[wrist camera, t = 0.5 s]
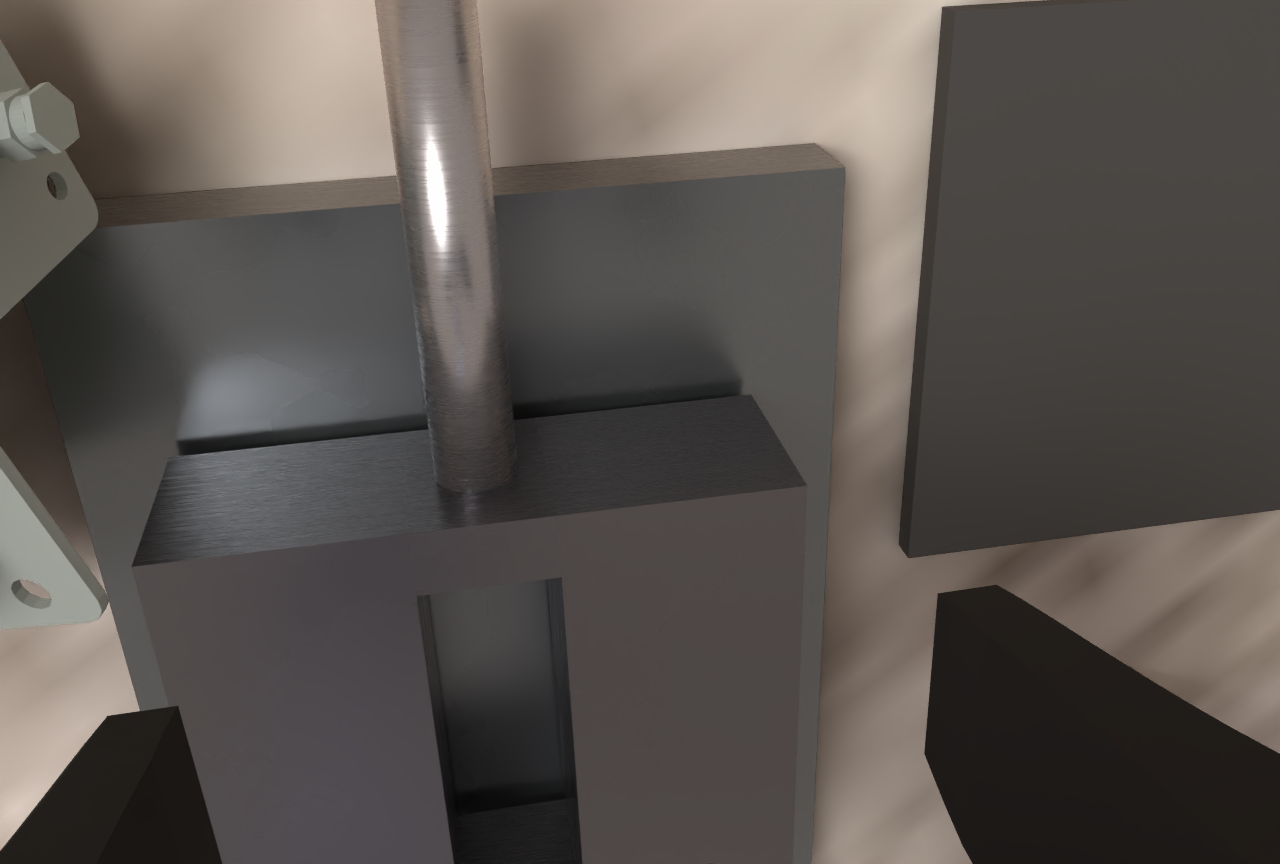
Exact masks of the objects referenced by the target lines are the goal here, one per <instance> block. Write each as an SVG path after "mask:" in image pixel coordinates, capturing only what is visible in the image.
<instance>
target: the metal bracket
mask: <svg viewBox="0 0 1280 864" xmlns="http://www.w3.org/2000/svg"><path fill="white" fill-rule="evenodd" d="M79 138H80V135H79V130H78V125H77V120H76V115H75V109H74V104H73V102H72V101H70V100H69V99H68V98H67V97H66V96H65V95H63V94H62V93H61V92H60V91H59V90H58V89H56V88H55V87H54V86H53V85H52V84H50V83H49V82H44V83H40V84H39V85H37V86H36V87H35V88H33V89H32V90H30V89H29V87H28V85H27V84H26V82H25V80H24V79H23V77H22V75H21V73H20V72H19V70H18V68H17V66H16V65H15V63H14V61H13V60H12V58H11V56H10V54H9V53H8V51H7V49H6V48H5V46H4V44H3V42H2V41H1V39H0V319H1V318H2V317H3V316H4V315H5V314H6V313H8V312H9V311H10V310H11V309H12V308H13V307H14V306H15V305H16V304H17V303H18V302H19V301H20V300H21V299H22V298H23V297H24V296H25V295H26V294H27V293H28V292H29V291H30V290H31V289H32V288H34V287H35V286H36V285H37V284H38V283H39V282H40V281H41V280H42V279H43V278H44V277H45V276H46V275H47V274H48V273H49V272H50V271H51V270H52V269H53V268H54V267H55V266H56V265H57V264H58V263H60V262H61V261H62V260H63V259H64V258H65V257H66V256H67V255H68V254H69V253H70V252H71V251H72V250H73V249H74V248H75V247H76V246H77V245H78V244H79V243H80V242H81V241H82V240H83V239H84V238H86V237H87V236H88V235H89V234H90V233H91V232H92V231H93V230H94V229H95V227H96V226H97V222H98V210H97V206H96V204H95V201H94V199H93V198H92V196H91V194H90V192H89V191H88V189H87V187H86V185H85V184H84V182H83V180H82V179H81V177H80V175H79V173H78V172H77V170H76V168H75V166H74V165H73V163H72V161H71V160H70V158H69V156H68V154H67V153H66V151H65V149H67V148H68V147H69V146H70V145H71V144H73V143H74V142H75V141H76V140H77V139H79ZM47 176H49V177H50V178H51V179H52V180H53V182H54V184H55V186H56V190H57V193H56V198H54V197H53V196H52V195H51V193H50V192H49V190H48V187H47ZM20 580H29V581H32V582H34V583H36V584H38V585H40V586H41V587H43V588H44V589H45V590H46V591H47V592H48V593H49V595H50V597H51V599H45V598H39V597H37V596H35V595H33V594H31V593H29V592H28V591H27V590H26V589H25V588H24V587H23V586H22V585H21V583H20ZM108 602H109V600H108V597H107V595H106V592H105V590H104V589H103V587H102V586H101V585H100V583H99V582H98V580H97V579H96V578H95V576H94V575H93V573H92V572H91V571H90V569H89V568H88V567H87V565H86V564H85V562H84V561H83V560H82V558H81V557H80V556H79V554H78V553H77V551H76V550H75V549H74V547H73V546H72V544H71V543H70V542H69V540H68V539H67V538H66V536H65V535H64V533H63V532H62V531H61V529H60V528H59V527H58V525H57V524H56V522H55V521H54V520H53V518H52V517H51V515H50V514H49V513H48V511H47V510H46V509H45V507H44V506H43V504H42V503H41V502H40V500H39V499H38V497H37V496H36V495H35V493H34V492H33V491H32V489H31V488H30V486H29V485H28V484H27V482H26V481H25V480H24V478H23V477H22V475H21V474H20V473H19V471H18V470H17V468H16V467H15V466H14V464H13V463H12V462H11V460H10V459H9V457H8V456H7V455H6V453H5V452H4V451H3V449H2V448H1V446H0V630H1V629H13V628H26V627H38V626H51V625H63V624H75V623H88V622H92V621H94V620H97V619H99V618H100V616H101V615H102V613H103V612H104V611H105V609H106V607H107V605H108Z"/></svg>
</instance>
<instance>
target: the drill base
mask: <svg viewBox="0 0 1280 864" xmlns="http://www.w3.org/2000/svg"><path fill="white" fill-rule="evenodd" d="M491 170H492V181H493V193H494V204H495V215H496V227H497V238H498V249H499V261H500V272H501V283H502V295H503V306H504V317H505V329H506V340H507V351H508V363H509V374H510V385H511V396H512V408H513V419H514V420H519V419H529V418H538V417H547V416H556V415H566V414H575V413H584V412H593V411H603V410H612V409H621V408H630V407H640V406H649V405H658V404H667V403H677V402H686V401H695V400H705V399H714V398H723V397H732V396H742V395H752V396H753V398H754V399H755V401H756V403H757V404H758V406H759V408H760V409H761V411H762V412H763V414H764V416H765V417H766V419H767V421H768V422H769V424H770V426H771V427H772V429H773V430H774V432H775V434H776V435H777V437H778V439H779V440H780V442H781V444H782V445H783V447H784V448H785V450H786V452H787V453H788V455H789V457H790V458H791V460H792V461H793V463H794V465H795V466H796V468H797V470H798V471H799V473H800V475H801V476H802V478H803V479H804V481H805V483H806V484H807V509H806V535H805V560H804V586H803V612H802V637H801V663H800V689H799V715H798V740H797V766H796V792H795V817H794V843H793V864H811V860H812V840H813V819H814V799H815V778H816V758H817V737H818V717H819V696H820V676H821V655H822V635H823V614H824V594H825V573H826V553H827V532H828V512H829V491H830V471H831V450H832V430H833V409H834V389H835V368H836V348H837V328H838V307H839V287H840V266H841V246H842V225H843V205H844V184H845V167H844V166H843V165H842V164H840V163H839V162H838V161H837V160H835V159H834V158H833V157H832V156H830V155H829V154H828V153H827V152H825V151H824V150H823V149H821V148H820V147H819V146H818V145H816V144H815V143H814V144H801V145H788V146H775V147H762V148H749V149H736V150H724V151H711V152H698V153H685V154H672V155H659V156H646V157H633V158H620V159H608V160H595V161H582V162H569V163H556V164H543V165H530V166H517V167H504V168H491ZM94 201H95V204H96V206H97V210H98V222H97V226H96V227H95V229H94V230H93V231H92V232H91V233H90V234H89V235H88V236H87V237H86V238H84V239H83V240H82V241H81V242H80V243H79V244H78V245H77V246H76V247H75V248H74V249H73V250H72V251H71V252H70V253H69V254H68V255H67V256H66V257H65V258H64V259H63V260H62V261H61V262H60V263H58V264H57V265H56V266H55V267H54V268H53V269H52V270H51V271H50V272H49V273H48V274H47V275H46V276H45V277H44V278H43V279H42V280H41V281H40V282H39V283H38V284H37V285H36V286H35V287H34V288H32V289H31V290H30V291H29V292H28V293H27V294H26V295H25V296H24V297H23V300H24V304H25V307H26V311H27V314H28V318H29V321H30V325H31V328H32V332H33V335H34V339H35V342H36V346H37V349H38V353H39V356H40V360H41V364H42V367H43V371H44V374H45V378H46V381H47V385H48V388H49V392H50V395H51V399H52V402H53V406H54V409H55V413H56V416H57V420H58V423H59V427H60V430H61V434H62V437H63V441H64V444H65V448H66V451H67V455H68V459H69V462H70V466H71V469H72V473H73V476H74V480H75V483H76V487H77V490H78V494H79V497H80V501H81V504H82V508H83V511H84V515H85V518H86V522H87V525H88V529H89V532H90V536H91V539H92V543H93V546H94V550H95V554H96V557H97V561H98V564H99V568H100V571H101V575H102V578H103V582H104V585H105V589H106V592H107V596H108V599H109V603H110V606H111V610H112V613H113V617H114V620H115V624H116V627H117V631H118V634H119V638H120V641H121V645H122V648H123V652H124V656H125V659H126V663H127V666H128V670H129V673H130V677H131V680H132V684H133V687H134V691H135V694H136V698H137V701H138V705H139V708H140V711H145V710H152V709H159V708H166V707H169V705H168V701H167V697H166V694H165V690H164V686H163V683H162V679H161V675H160V671H159V668H158V664H157V660H156V657H155V653H154V649H153V646H152V642H151V638H150V634H149V631H148V627H147V623H146V620H145V616H144V612H143V608H142V605H141V601H140V597H139V594H138V590H137V586H136V582H135V579H134V575H133V571H132V568H131V566H132V564H133V561H134V558H135V555H136V552H137V549H138V546H139V543H140V540H141V537H142V535H143V532H144V529H145V526H146V523H147V520H148V517H149V514H150V511H151V509H152V506H153V503H154V500H155V497H156V494H157V491H158V488H159V485H160V482H161V480H162V477H163V474H164V471H165V468H166V465H167V462H168V459H169V457H176V456H186V455H195V454H204V453H214V452H223V451H232V450H241V449H251V448H260V447H269V446H278V445H288V444H297V443H306V442H315V441H325V440H334V439H343V438H352V437H362V436H371V435H380V434H390V433H399V432H408V431H417V430H427V429H428V421H427V413H426V405H425V397H424V389H423V381H422V373H421V365H420V357H419V349H418V341H417V333H416V325H415V317H414V309H413V301H412V293H411V285H410V277H409V270H408V262H407V254H406V246H405V238H404V230H403V222H402V214H401V206H400V198H399V190H398V182H397V176H388V177H375V178H363V179H350V180H337V181H324V182H311V183H298V184H285V185H272V186H259V187H247V188H234V189H221V190H208V191H195V192H182V193H169V194H156V195H143V196H131V197H118V198H105V199H94ZM427 596H428V603H429V610H430V618H431V625H432V632H433V640H434V647H435V655H436V662H437V669H438V677H439V684H440V691H441V699H442V706H443V714H444V721H445V728H446V736H447V743H448V751H449V758H450V765H451V773H452V780H453V787H454V795H455V802H456V810H457V816H458V815H464V814H470V813H477V812H483V811H490V810H496V809H503V808H509V807H516V806H522V805H529V804H535V803H542V802H548V801H555V800H561V799H565V796H564V783H563V771H562V758H561V745H560V733H559V720H558V707H557V695H556V682H555V670H554V657H553V644H552V632H551V619H550V607H549V594H548V581H547V579H545V580H537V581H530V582H522V583H514V584H506V585H498V586H490V587H483V588H475V589H467V590H459V591H451V592H443V593H436V594H428V595H427Z"/></svg>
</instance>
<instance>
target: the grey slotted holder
mask: <svg viewBox="0 0 1280 864" xmlns="http://www.w3.org/2000/svg"><path fill="white" fill-rule="evenodd" d="M375 6H376V14H377V22H378V30H379V38H380V46H381V54H382V62H383V70H384V78H385V86H386V94H387V102H388V110H389V118H390V126H391V134H392V142H393V150H394V158H395V166H396V174H397V182H398V190H399V198H400V206H401V214H402V222H403V230H404V238H405V246H406V254H407V262H408V270H409V277H410V285H411V293H412V301H413V309H414V317H415V325H416V333H417V341H418V349H419V357H420V365H421V373H422V381H423V389H424V397H425V405H426V413H427V421H428V429H427V430H417V431H408V432H399V433H390V434H380V435H371V436H362V437H352V438H343V439H334V440H325V441H315V442H306V443H297V444H288V445H278V446H269V447H260V448H251V449H241V450H232V451H223V452H214V453H204V454H195V455H186V456H176V457H169V459H168V462H167V465H166V468H165V471H164V474H163V477H162V480H161V482H160V485H159V488H158V491H157V494H156V497H155V500H154V503H153V506H152V509H151V511H150V514H149V517H148V520H147V523H146V526H145V529H144V532H143V535H142V537H141V540H140V543H139V546H138V549H137V552H136V555H135V558H134V561H133V564H132V566H131V568H132V571H133V575H134V579H135V582H136V586H137V590H138V594H139V597H140V601H141V605H142V608H143V612H144V616H145V620H146V623H147V627H148V631H149V634H150V638H151V642H152V646H153V649H154V653H155V657H156V660H157V664H158V668H159V671H160V675H161V679H162V683H163V686H164V690H165V694H166V697H167V701H168V705H169V707H172V706H178V707H179V711H180V714H181V718H182V721H183V725H184V728H185V732H186V735H187V739H188V743H189V746H190V750H191V753H192V757H193V760H194V764H195V768H196V771H197V775H198V778H199V782H200V785H201V789H202V792H203V796H204V800H205V803H206V807H207V810H208V814H209V817H210V821H211V825H212V828H213V832H214V835H215V839H216V842H217V846H218V849H219V853H220V857H221V860H222V864H793V843H794V817H795V792H796V766H797V740H798V715H799V689H800V663H801V637H802V612H803V586H804V560H805V535H806V509H807V484H806V483H805V481H804V479H803V478H802V476H801V475H800V473H799V471H798V470H797V468H796V466H795V465H794V463H793V461H792V460H791V458H790V457H789V455H788V453H787V452H786V450H785V448H784V447H783V445H782V444H781V442H780V440H779V439H778V437H777V435H776V434H775V432H774V430H773V429H772V427H771V426H770V424H769V422H768V421H767V419H766V417H765V416H764V414H763V412H762V411H761V409H760V408H759V406H758V404H757V403H756V401H755V399H754V398H753V396H752V395H742V396H732V397H723V398H714V399H705V400H695V401H686V402H677V403H667V404H658V405H649V406H640V407H630V408H621V409H612V410H603V411H593V412H584V413H575V414H566V415H556V416H547V417H538V418H529V419H519V420H514V419H513V408H512V396H511V385H510V374H509V363H508V351H507V340H506V329H505V317H504V306H503V295H502V283H501V272H500V261H499V249H498V238H497V227H496V215H495V204H494V193H493V181H492V170H491V159H490V148H489V136H488V125H487V114H486V102H485V91H484V80H483V68H482V57H481V46H480V34H479V23H478V12H477V0H375ZM545 579H547V581H548V594H549V607H550V619H551V632H552V644H553V657H554V670H555V682H556V695H557V707H558V720H559V733H560V745H561V758H562V771H563V783H564V796H565V799H561V800H555V801H548V802H542V803H535V804H529V805H522V806H516V807H509V808H503V809H496V810H490V811H483V812H477V813H470V814H464V815H458V816H457V810H456V802H455V795H454V787H453V780H452V773H451V765H450V758H449V751H448V743H447V736H446V728H445V721H444V714H443V706H442V699H441V691H440V684H439V677H438V669H437V662H436V655H435V647H434V640H433V632H432V625H431V618H430V610H429V603H428V596H427V595H428V594H436V593H443V592H451V591H459V590H467V589H475V588H483V587H490V586H498V585H506V584H514V583H522V582H530V581H537V580H545Z"/></svg>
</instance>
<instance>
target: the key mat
mask: <svg viewBox="0 0 1280 864" xmlns="http://www.w3.org/2000/svg"><path fill="white" fill-rule="evenodd" d="M1273 510H1280V0H1046V1H1029V2H1013V3H997V4H981V5H964V6H948V7H942V18H941V30H940V43H939V55H938V67H937V79H936V92H935V104H934V116H933V129H932V141H931V153H930V165H929V178H928V190H927V202H926V215H925V227H924V239H923V251H922V264H921V276H920V288H919V301H918V313H917V325H916V337H915V350H914V362H913V374H912V387H911V399H910V411H909V424H908V436H907V448H906V460H905V473H904V485H903V497H902V510H901V522H900V534H899V545H900V547H901V548H902V550H903V551H904V553H905V554H906V556H907V557H908V558H913V557H921V556H928V555H936V554H944V553H951V552H959V551H967V550H974V549H982V548H990V547H997V546H1005V545H1013V544H1020V543H1028V542H1036V541H1043V540H1051V539H1058V538H1066V537H1074V536H1081V535H1089V534H1097V533H1104V532H1112V531H1120V530H1127V529H1135V528H1143V527H1150V526H1158V525H1166V524H1173V523H1181V522H1189V521H1196V520H1204V519H1212V518H1219V517H1227V516H1235V515H1242V514H1250V513H1257V512H1265V511H1273Z"/></svg>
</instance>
